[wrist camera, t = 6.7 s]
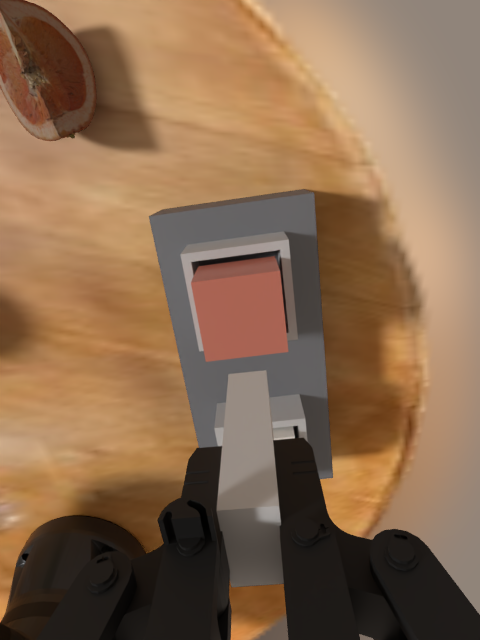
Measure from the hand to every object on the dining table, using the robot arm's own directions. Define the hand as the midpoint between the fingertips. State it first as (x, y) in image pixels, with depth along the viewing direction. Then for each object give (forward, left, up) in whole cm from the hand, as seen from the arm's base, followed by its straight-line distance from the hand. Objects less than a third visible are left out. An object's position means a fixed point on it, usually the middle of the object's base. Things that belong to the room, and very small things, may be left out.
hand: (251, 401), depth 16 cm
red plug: (0, 0, -12) cm, 12 cm away
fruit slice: (+16, +12, -21) cm, 29 cm away
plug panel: (-7, 0, -21) cm, 22 cm away
